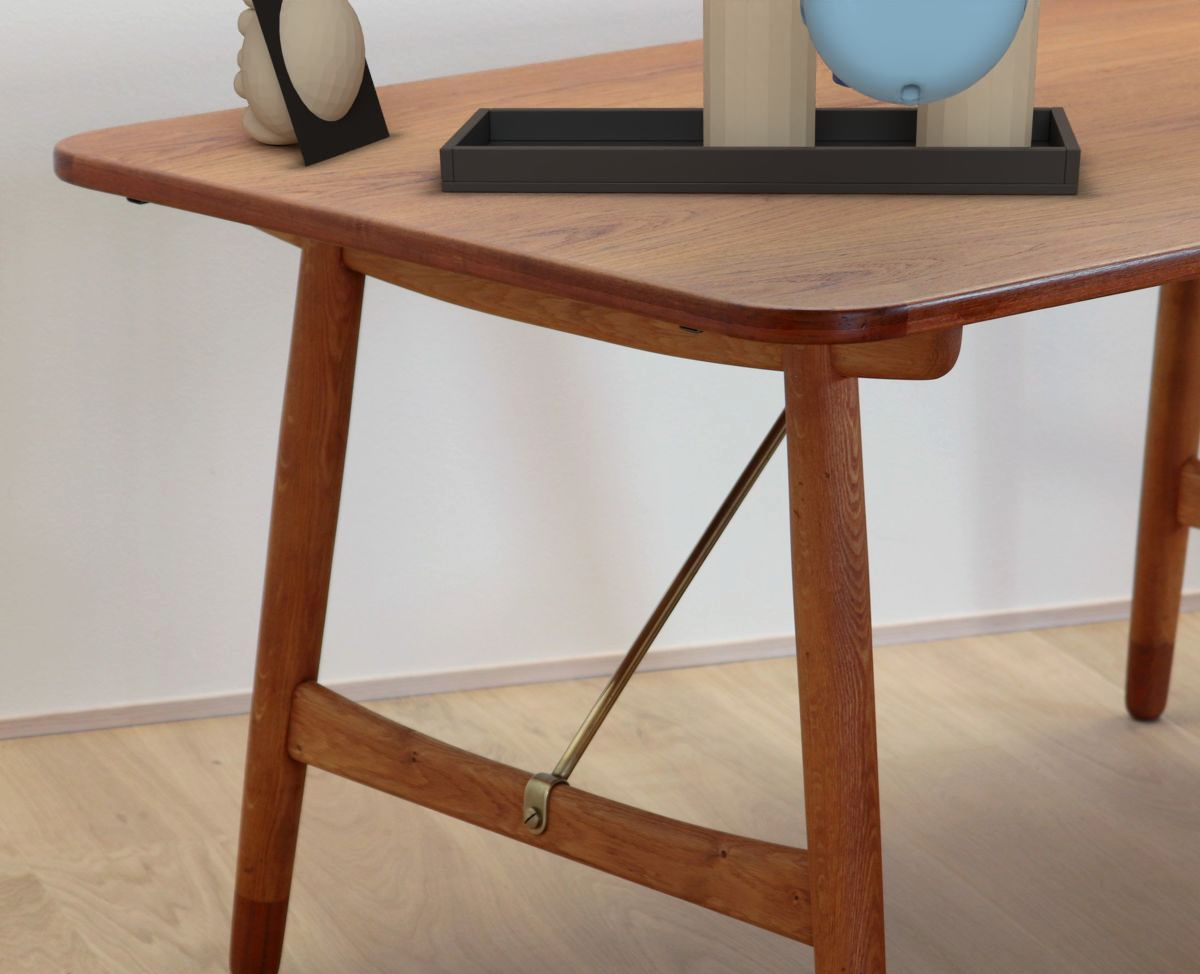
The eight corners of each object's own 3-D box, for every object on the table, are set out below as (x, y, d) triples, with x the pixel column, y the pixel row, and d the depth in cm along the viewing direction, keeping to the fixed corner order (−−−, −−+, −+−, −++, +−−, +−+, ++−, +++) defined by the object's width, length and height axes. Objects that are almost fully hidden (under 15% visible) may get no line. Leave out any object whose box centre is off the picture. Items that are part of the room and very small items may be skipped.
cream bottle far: (1051, 170, 117) (1072, -118, 110) (976, 188, 114) (992, -109, 107) (967, 153, 122) (982, -124, 115) (892, 170, 118) (902, -115, 111)
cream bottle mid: (836, 169, 119) (844, -114, 112) (755, 187, 115) (757, -105, 108) (762, 152, 124) (764, -120, 117) (681, 169, 120) (679, -111, 113)
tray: (1060, 148, 123) (1063, 106, 122) (1077, 194, 111) (1081, 149, 110) (481, 147, 128) (479, 107, 127) (441, 191, 116) (438, 148, 115)
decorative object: (219, 190, 128) (306, 159, 136) (339, 157, 122) (423, 127, 130) (154, -4, 124) (247, -24, 132) (275, -47, 119) (364, -65, 127)
